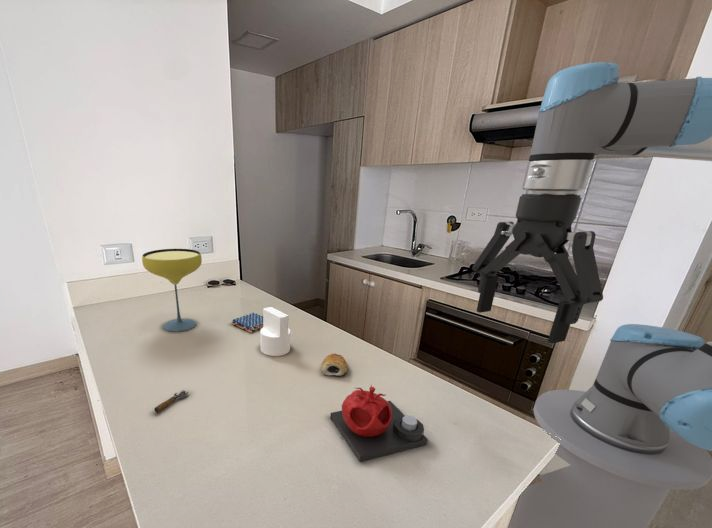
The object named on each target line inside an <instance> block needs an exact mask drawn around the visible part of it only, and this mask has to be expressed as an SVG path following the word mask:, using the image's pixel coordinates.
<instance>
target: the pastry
mask: <svg viewBox="0 0 712 528" xmlns="http://www.w3.org/2000/svg"><path fill="white" fill-rule="evenodd" d="M320 371H321V373H322V374H323V375H324V376H336V377H339V376H343V375H345V374H346V373H347V371H348V363H347V361H346V359H345V358H344V356H343V355H341V354H337V353H331V354H328V355H327V356H326V357H324V359H323V360H322V362H321V369H320Z"/></svg>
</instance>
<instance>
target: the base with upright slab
mask: <svg viewBox="0 0 712 528" xmlns="http://www.w3.org/2000/svg"><path fill="white" fill-rule="evenodd" d="M262 316H263V328H262V327H261V328H260V331H259V335H260V336H259V340H260V352H261V353H262V354H264V355H266V356H272V357H279V356H284V355H286V354H288V353H289V352H290V351H291V329H290V328H289V314H286V313H284V312H282V311H281V310H279V309H277V308H274V307H272V306H269V307H264V308H263V309H262Z"/></svg>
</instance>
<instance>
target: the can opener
mask: <svg viewBox="0 0 712 528" xmlns="http://www.w3.org/2000/svg"><path fill="white" fill-rule="evenodd" d="M188 394H189V391H187V392H186V391H185V390H181V391H180V393H178V392H175V393H174V394H173V396H172V397H169V398H168V399H167V400H165V401H163V402H162V403H159V404H158V405H157V406H155V407H154V412H155V413H158V412H160V411H162V410H164V409H165V408H166V407H167V406H169V405H171V403H173V402H175V401H176V400H177V399H183V398H185V397H187V396H188Z"/></svg>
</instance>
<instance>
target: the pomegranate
mask: <svg viewBox="0 0 712 528" xmlns="http://www.w3.org/2000/svg"><path fill="white" fill-rule="evenodd" d="M386 395H387V394H384V393H376V387H374V386H372V383H371V384H370V386H369V390H364V389H363V388H362V387H355V390H353V391H352V392H351V393H350V394H348V395H347V396H346V397H345V399H344V400H343V401H342V404H341V411H342V415H343V419H344V421H345V423H346V425H347V426H348V427H349V428H350V429H351V431H352V432H354V433H355V434H357V435H360V436H363V437H373V436H378V435H380V434H382V433H383V432H384V431H385V430H386V429H387V428H388V427H389V425H390V422H391V419H392V409H391V405H390V404H389V402H388V401H389V400H386V399H385V398H384V397H385V396H386Z"/></svg>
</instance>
